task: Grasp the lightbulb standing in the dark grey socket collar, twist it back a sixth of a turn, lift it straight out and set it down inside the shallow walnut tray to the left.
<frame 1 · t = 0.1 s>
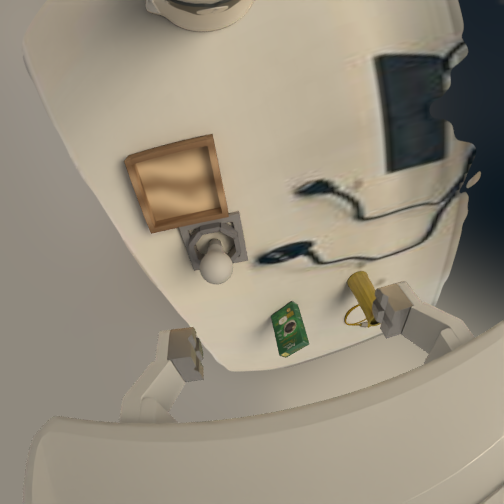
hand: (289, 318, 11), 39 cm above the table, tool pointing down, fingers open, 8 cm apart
socket: (214, 241, 56), on the table
vase: (357, 278, 71), on the table
coffee box: (283, 309, 74), on the table
tray: (179, 182, 47), on the table
extension cord: (361, 314, 83), on the table
lightbulb: (214, 241, 56), resting in socket
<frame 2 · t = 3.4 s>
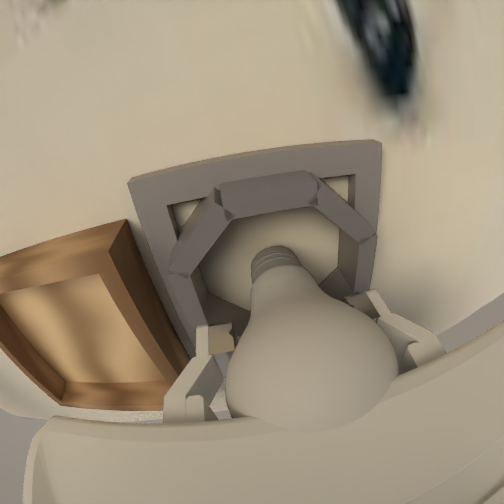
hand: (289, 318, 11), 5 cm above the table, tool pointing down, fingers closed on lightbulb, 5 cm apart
socket: (271, 257, 15), on the table
tray: (80, 330, 17), on the table
lightbulb: (270, 255, 15), resting in socket, touching gripper
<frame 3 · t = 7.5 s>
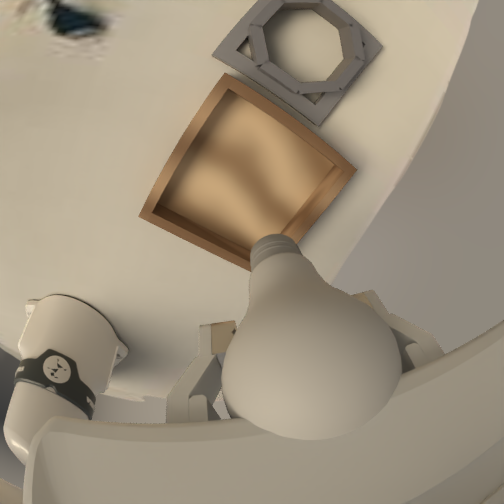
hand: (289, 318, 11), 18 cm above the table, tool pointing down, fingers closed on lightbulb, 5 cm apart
socket: (302, 44, 20), on the table
tray: (245, 178, 27), on the table
lightbulb: (270, 243, 15), point 14 cm above the table, touching gripper
when the fingers open (6 cm above the table, at t = 10.7 s): lightbulb moves 1 cm, point 1 cm above the table.
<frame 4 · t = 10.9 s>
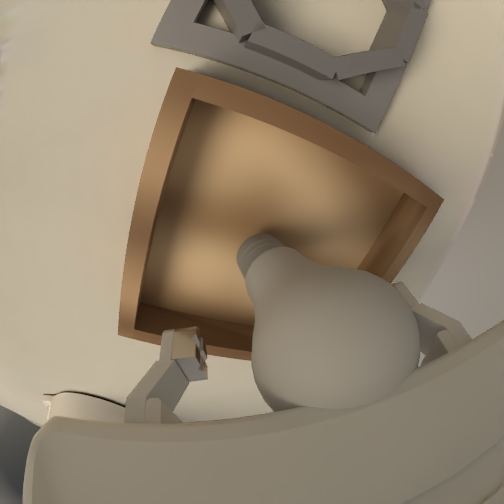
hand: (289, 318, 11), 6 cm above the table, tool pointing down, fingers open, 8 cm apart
tray: (267, 242, 16), on the table
lightbulb: (251, 245, 15), point 1 cm above the table, touching gripper
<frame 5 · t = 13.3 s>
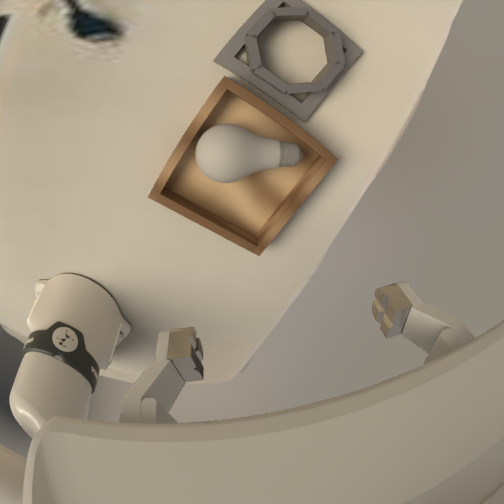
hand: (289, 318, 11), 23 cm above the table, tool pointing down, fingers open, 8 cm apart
socket: (291, 51, 23), on the table
tray: (241, 166, 30), on the table
lightbulb: (303, 155, 27), point 3 cm above the table, touching tray
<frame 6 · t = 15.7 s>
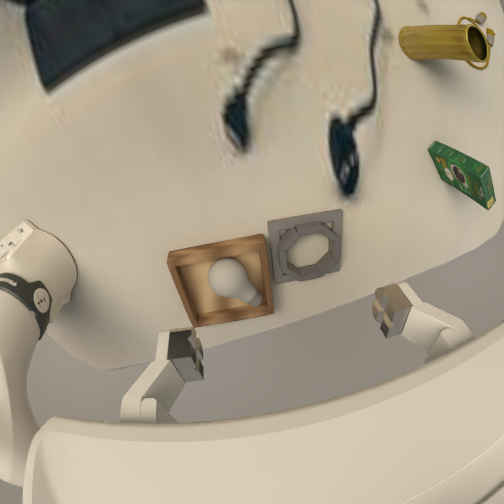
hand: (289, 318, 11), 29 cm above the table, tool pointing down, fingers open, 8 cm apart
socket: (306, 246, 45), on the table
vase: (411, 43, 27), on the table
coffee box: (438, 160, 39), on the table
tray: (224, 279, 47), on the table
extension cord: (474, 40, 25), on the table
lightbulb: (260, 303, 46), point 3 cm above the table, touching tray
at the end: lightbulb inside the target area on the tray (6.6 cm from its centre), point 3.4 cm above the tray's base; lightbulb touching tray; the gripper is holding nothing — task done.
